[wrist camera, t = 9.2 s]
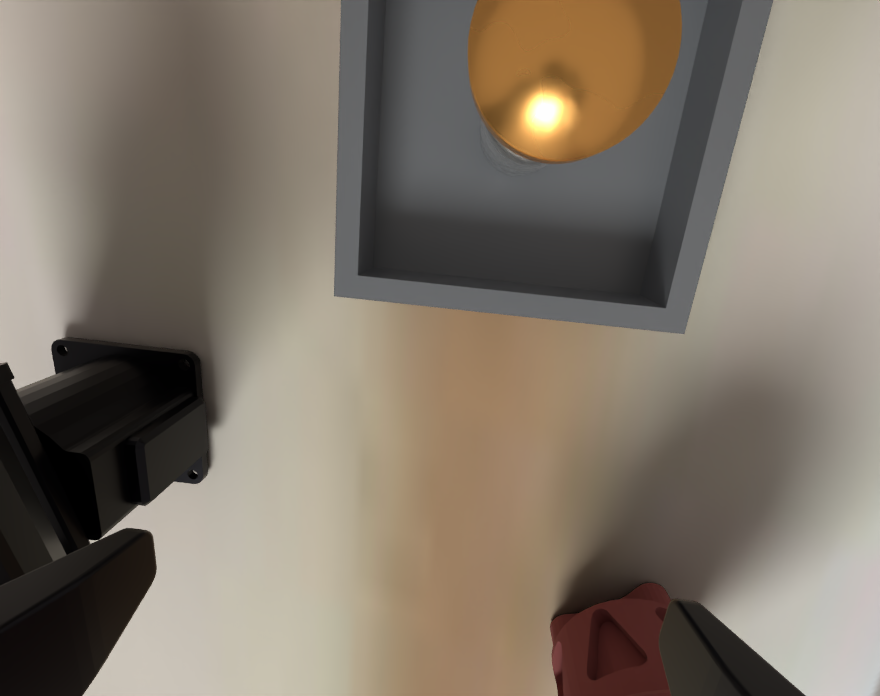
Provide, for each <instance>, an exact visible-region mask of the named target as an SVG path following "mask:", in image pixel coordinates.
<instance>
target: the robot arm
mask: <svg viewBox="0 0 880 696" xmlns="http://www.w3.org/2000/svg"><path fill="white" fill-rule="evenodd" d="M65 347H66V348H67V350H68V352H67V351H66V349H65ZM51 350H52V355H53V361H54V367H55V373H56V375H53V376H50V377H48V378H45V379H43V380H40V381H38V382H35V383H32V384H30V385H27V386H25V387H22V388H20V389H17V390H16V389H15V387H14V385H13V383H12V381H11V380H12V379H14V376H13V374H12V372H11V370H10V368H9V365H8V363H7V362H6V363H0V696H82V695H83V694H84V693H85V691H86V690H87V688H88V687H89V685H90V684H91V682H92V681H93V680H94V678H95V677H96V675H97V674H98V672H99V670H100V669H101V667H102V666H103V664H104V663H105V661H106V659H107V658H108V656H109V654H110V653H111V651H112V649H113V648H114V646H115V644H116V643H117V641H118V639H119V638H120V636H121V634H122V633H123V631H124V629H125V628H126V626H127V624H128V623H129V621H130V619H131V618H132V616H133V614H134V613H135V611H136V609H137V608H138V606H139V604H140V603H141V601H142V599H143V598H144V596H145V594H146V593H147V591H148V589H149V588H150V586H151V584H152V582H153V580H154V578H155V575H156V569H157V566H156V557H155V549H154V541H153V535H152V534H151V532H149V531H147V530H141V529H133V528H126V529H122V530H120V531H118V532H116V533H114V534H111V535H109V536H107V537H105V538H103V539H101V540H99V539H100V538H101V537H103V536H104V535H105V534H106V533H107V532H108V531H109V530H111V529H112V528H113V527H114V526H115V525H116V524H117V523H119V522H120V521H121V520H122V519H123V518H124V517H125V516H127V515H128V514H129V513H130V512H131V511H132V510H133V509H135V508H136V507H137V506H138V505H142V506H146V505H148V504H149V503H150V502H151V501H153V500H154V499H155V498H156V497H157V496H158V495H159V494H160V493H161V492H163V491H164V490H165V489H166V488H167V487H168V486H169V485H170V484H171V483H173V482H174V481H176V482H184V483H191V484H197V483H200V482H201V481H202V480H203V479H204V478H205V477H206V476H207V474H208V466H207V451H208V436H207V421H206V407H205V402H204V400H203V393H202V379H201V364H200V360H199V358H198V356H197V355H196V354H194V353H193V352H190V351H183V350H174V349H166V348H157V347H148V346H140V345H131V344H122V343H113V342H105V341H96V340H87V339H79V338H70V337H67V338H62V339H59V340H56V341H54V342H53V344H52V348H51ZM184 360H187V361H188V362H189V365H190V366H189V367H188V366H186V365H185V363H184ZM193 470H194V471H196V472H197V474H195V473H194V472H193ZM89 540H98V541H96V542H94V543H92V544H90V542H89ZM659 650H660V655H661V659H662V662H663V666H664V670H665V674H666V678H667V682H668V686H669V690H670V694H671V696H805V695H804V694H803V693H802V692H801V691H800V690H798V689H797V688H796V687H795V686H794V685H793V684H792V683H790V682H789V681H788V680H787V679H786V678H785V677H784V676H783V675H781V674H780V673H779V672H778V671H777V670H776V669H775V668H773V667H772V666H771V665H770V664H769V663H768V662H767V661H765V660H764V659H763V658H762V657H761V656H760V655H759V654H757V653H756V652H755V651H754V650H753V649H752V648H751V647H749V646H748V645H747V644H746V643H745V642H744V641H743V640H741V639H740V638H739V637H738V636H737V635H736V634H735V633H733V632H732V631H731V630H730V629H729V628H728V627H727V626H725V625H724V624H723V623H722V622H721V621H720V620H719V619H717V618H716V617H715V616H714V615H713V614H712V613H711V612H709V611H708V610H707V609H706V608H705V607H704V606H702V605H701V604H700V603H698V602H695V601H689V600H681V599H673V600H671V602H670V603H669V605H668V608H667V611H666V614H665V617H664V621H663V624H662V627H661V630H660V634H659Z"/></svg>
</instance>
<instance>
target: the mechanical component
mask: <svg viewBox="0 0 880 696" xmlns="http://www.w3.org/2000/svg"><path fill="white" fill-rule="evenodd" d="M670 602H671V600H670V598H669V596H668V594H667V592H666V590H665V589H664V588H663V587H662V586H661V585H658V584H655V583H645V584H642V585H640V586H638V587H637V588H636V589H634V590H633V591H632V592H630V593H629V594H628V595H626V596H625V597H623V598H621V599H618V600H611V601H607V602H603V603H599V604H596V605H594V606H592V607H589V608H587V609H585V610H583V611H582V612H580V613H574V614H564V615H560V616H558V617H556V618H555V619H554V620H553V621H552V622H551V625H550V630H551V636H552V641H553V650H552V665H553V671H554V675H555V679H556V683H557V690H558V696H671V694H670V690H669V686H668V682H667V678H666V674H665V670H664V666H663V662H662V659H661V655H660V650H659V634H660V630H661V627H662V624H663V621H664V617H665V614H666V611H667V608H668V605H669V603H670Z"/></svg>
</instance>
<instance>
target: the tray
mask: <svg viewBox="0 0 880 696" xmlns="http://www.w3.org/2000/svg"><path fill="white" fill-rule="evenodd" d="M476 3H477V0H341V30H340V71H339V113H338V154H337V195H336V236H335V278H334V296H337V297H347V298H356V299H365V300H374V301H384V302H393V303H402V304H411V305H421V306H430V307H439V308H448V309H458V310H467V311H476V312H485V313H495V314H504V315H513V316H522V317H532V318H541V319H550V320H559V321H569V322H578V323H587V324H596V325H605V326H615V327H624V328H633V329H642V330H652V331H661V332H670V333H679V334H684V333H685V329H686V325H687V322H688V318H689V314H690V310H691V307H692V303H693V299H694V295H695V292H696V288H697V284H698V280H699V277H700V273H701V269H702V265H703V262H704V258H705V254H706V250H707V247H708V243H709V239H710V235H711V232H712V228H713V224H714V220H715V217H716V213H717V209H718V206H719V202H720V198H721V194H722V191H723V187H724V183H725V179H726V176H727V172H728V168H729V164H730V161H731V157H732V153H733V149H734V146H735V142H736V138H737V134H738V131H739V127H740V123H741V119H742V116H743V112H744V108H745V104H746V101H747V97H748V93H749V89H750V86H751V82H752V78H753V74H754V71H755V67H756V63H757V59H758V56H759V52H760V48H761V44H762V41H763V37H764V33H765V29H766V26H767V22H768V18H769V14H770V11H771V7H772V3H773V0H680V5H681V15H682V36H681V44H680V51H679V56H678V60H677V63H676V67H675V71H674V73H673V76H672V78H671V81H670V83H669V85H668V87H667V89H666V91H665V93H664V95H663V97H662V99H661V100H660V102H659V103H658V105H657V106H656V108H655V109H654V110H653V112H652V113H651V114H650V115H649V117H648V118H647V119H646V120H645V121H644V122H643V124H642V125H640V126H639V127H638V128H637V129H636V130H635V131H634V132H633V133H632V134H631V135H629V136H628V137H626V138H625V139H624V140H622V141H621V142H620V143H618V144H616V145H614V146H612V147H611V148H609V149H607V150H605V151H603V152H600V153H598V154H596V155H593V156H591V157H588V158H586V159H583V160H580V161H576V162H572V163H564V164H548V165H546V166H544V167H543V168H541V169H539V170H538V171H536V172H534V173H532V174H529V175H525V176H509V175H506V174H503V173H501V172H499V171H498V170H496V169H495V168H494V167H493V166H491V164H490V163H489V162H488V161H487V159H486V158H485V156H484V154H483V151H482V148H481V144H480V124H481V117H480V115H479V113H478V111H477V109H476V106H475V103H474V100H473V97H472V93H471V88H470V83H469V71H468V37H469V30H470V24H471V20H472V16H473V12H474V8H475V5H476Z"/></svg>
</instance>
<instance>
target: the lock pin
mask: <svg viewBox="0 0 880 696" xmlns="http://www.w3.org/2000/svg"><path fill="white" fill-rule="evenodd" d="M681 36H682V15H681V5H680V0H477V3H476V5H475V8H474V12H473V16H472V20H471V24H470V30H469V37H468V71H469V83H470V88H471V93H472V97H473V100H474V103H475V106H476V109H477V111H478V113H479V115H480V117H481V124H480V144H481V148H482V151H483V154H484V156H485V158H486V159H487V161H488V162H489V163H490V164H491V166H493V167H494V168H495V169H496V170H498V171H499V172H501V173H503V174H506V175H509V176H525V175H529V174H532V173H534V172H536V171H538V170H539V169H541V168H543V167H544V166H546V165H548V164H564V163H572V162H576V161H580V160H583V159H586V158H588V157H591V156H593V155H596V154H598V153H600V152H603V151H605V150H607V149H609V148H611V147H612V146H614V145H616V144H618V143H620V142H621V141H622V140H624V139H625V138H626V137H628V136H629V135H631V134H632V133H633V132H634V131H635V130H636V129H637V128H638V127H639V126H640V125H642V124H643V122H644V121H645V120H646V119H647V118H648V117H649V115H650V114H651V113H652V112H653V110H654V109H655V108H656V106H657V105H658V103H659V102H660V100H661V99H662V97H663V95H664V93H665V91H666V89H667V87H668V85H669V83H670V81H671V78H672V76H673V73H674V71H675V67H676V63H677V60H678V56H679V51H680V44H681Z"/></svg>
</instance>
